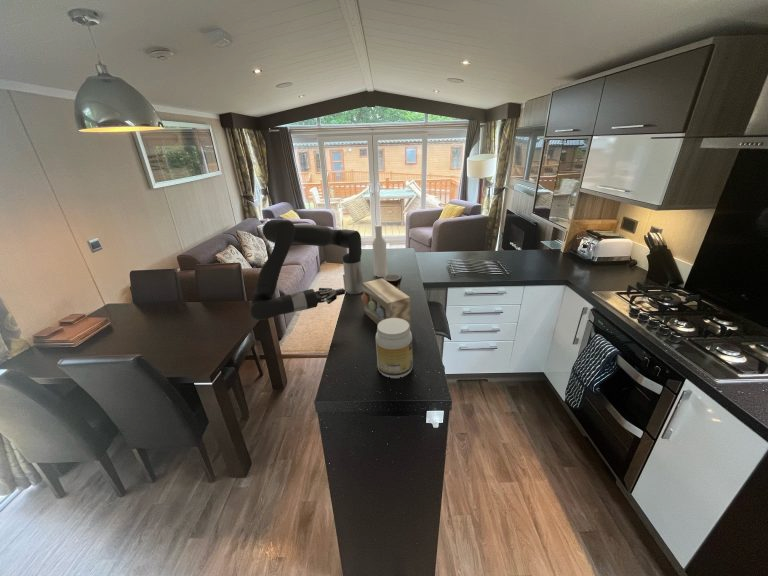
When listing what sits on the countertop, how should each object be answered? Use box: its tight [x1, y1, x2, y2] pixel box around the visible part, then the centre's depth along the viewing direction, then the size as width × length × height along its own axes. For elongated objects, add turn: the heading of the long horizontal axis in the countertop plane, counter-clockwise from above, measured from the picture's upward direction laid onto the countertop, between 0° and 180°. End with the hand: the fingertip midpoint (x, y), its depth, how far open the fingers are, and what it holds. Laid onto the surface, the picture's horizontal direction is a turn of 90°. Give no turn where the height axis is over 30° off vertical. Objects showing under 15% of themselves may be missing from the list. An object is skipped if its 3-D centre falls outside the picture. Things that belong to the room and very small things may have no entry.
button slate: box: [376, 307, 385, 319], centre depth 124 cm, size 2×4×4 cm, turn 27°
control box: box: [362, 277, 411, 329], centre depth 134 cm, size 10×24×15 cm, turn 27°
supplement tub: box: [375, 318, 414, 379], centre depth 103 cm, size 12×12×17 cm
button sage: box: [368, 300, 377, 311], centre depth 131 cm, size 2×4×4 cm, turn 28°
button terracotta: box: [360, 294, 369, 305], centre depth 137 cm, size 2×4×4 cm, turn 28°
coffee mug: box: [383, 273, 403, 291], centre depth 159 cm, size 12×9×10 cm
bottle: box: [372, 224, 388, 278], centre depth 181 cm, size 8×8×30 cm
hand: (344, 291), depth 130 cm, fingers closed
